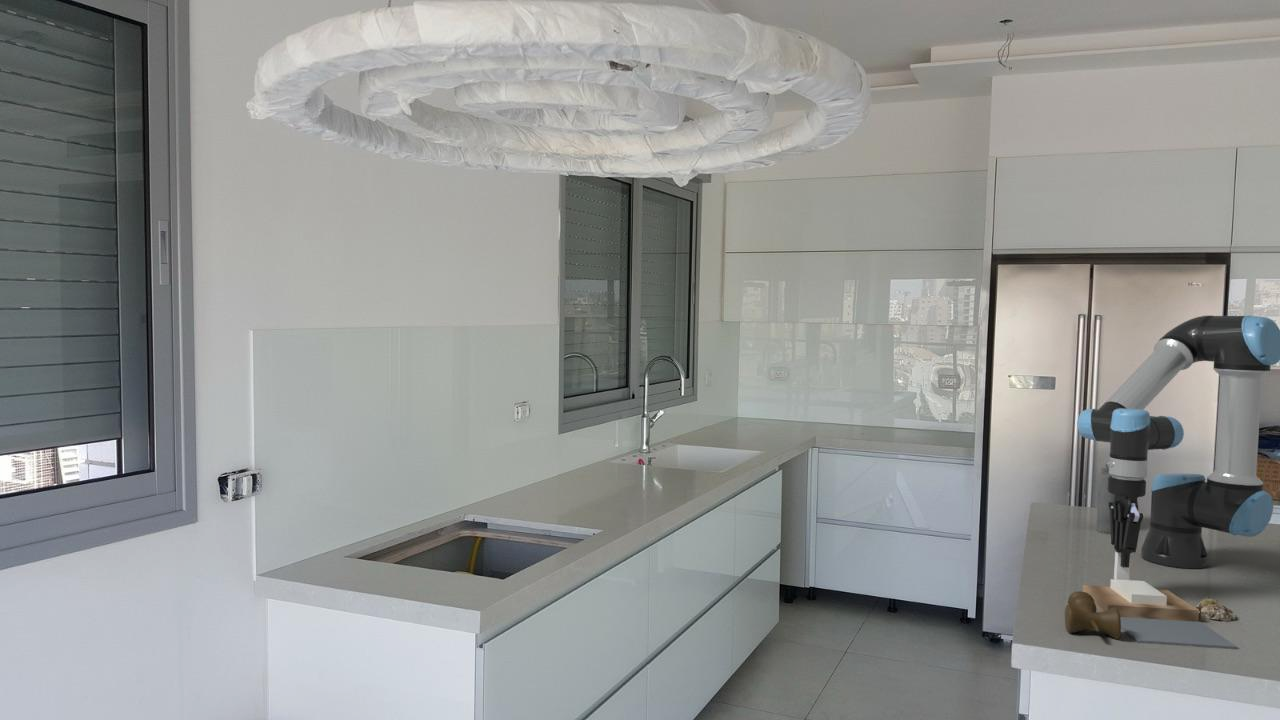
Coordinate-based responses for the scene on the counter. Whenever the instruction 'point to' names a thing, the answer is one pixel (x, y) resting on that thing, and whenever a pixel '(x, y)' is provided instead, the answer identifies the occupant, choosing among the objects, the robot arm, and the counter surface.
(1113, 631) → the kendama
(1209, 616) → the mineral rock
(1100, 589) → the tan wooden board
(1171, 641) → the mat
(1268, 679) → the counter surface
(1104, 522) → the flask
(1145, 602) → the stone tile
